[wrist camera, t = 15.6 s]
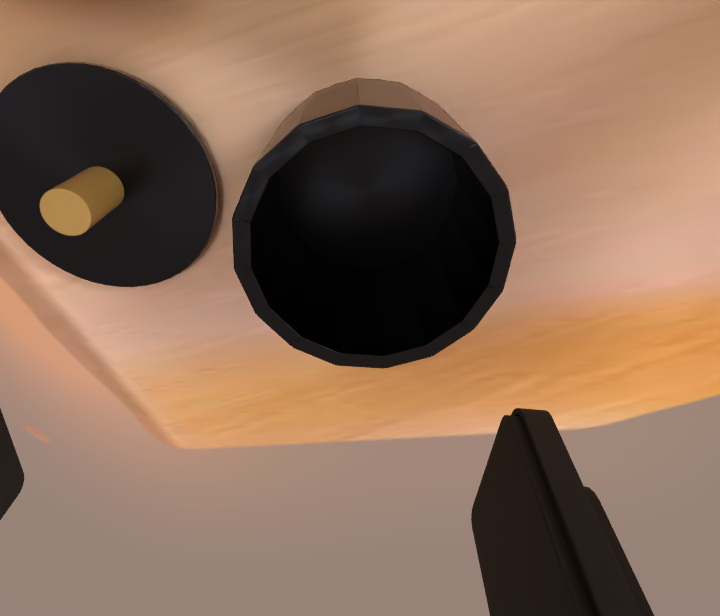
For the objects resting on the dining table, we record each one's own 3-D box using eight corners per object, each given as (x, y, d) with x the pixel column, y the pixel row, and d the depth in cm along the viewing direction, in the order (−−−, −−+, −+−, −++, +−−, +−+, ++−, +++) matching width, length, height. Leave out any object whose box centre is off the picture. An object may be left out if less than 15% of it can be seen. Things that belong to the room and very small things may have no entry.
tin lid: (-37, 49, 27) (-122, 55, 22) (214, 73, 28) (185, 85, 23) (24, 271, 34) (-31, 314, 29) (225, 286, 35) (204, 330, 30)
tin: (266, 68, 28) (226, 91, 19) (486, 89, 29) (548, 122, 20) (267, 269, 34) (237, 359, 25) (447, 282, 35) (481, 375, 26)
